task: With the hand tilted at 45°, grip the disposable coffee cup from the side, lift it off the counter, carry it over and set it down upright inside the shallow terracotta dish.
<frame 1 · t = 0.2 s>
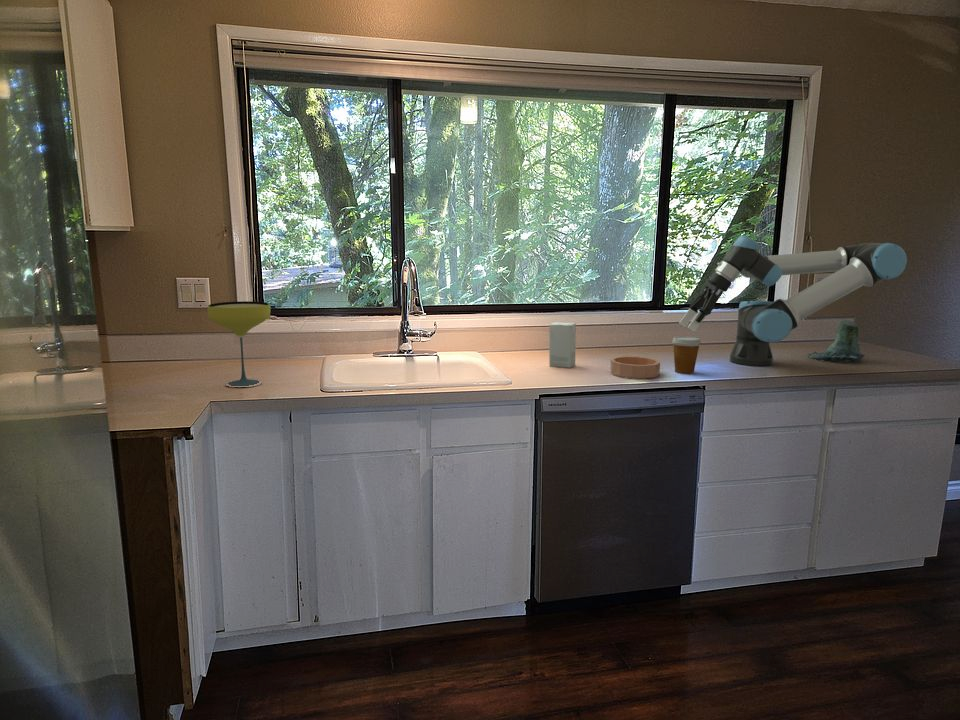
hand: (686, 327, 237), 15 cm above the countertop, tool tilted 35°, fingers open, 13 cm apart
disposable coffee cup: (684, 372, 233), on the countertop
skincare box: (561, 366, 242), on the countertop
cocktail glass: (244, 384, 209), on the countertop
terracotta dish: (634, 373, 230), on the countertop
tree stump: (836, 360, 259), on the countertop
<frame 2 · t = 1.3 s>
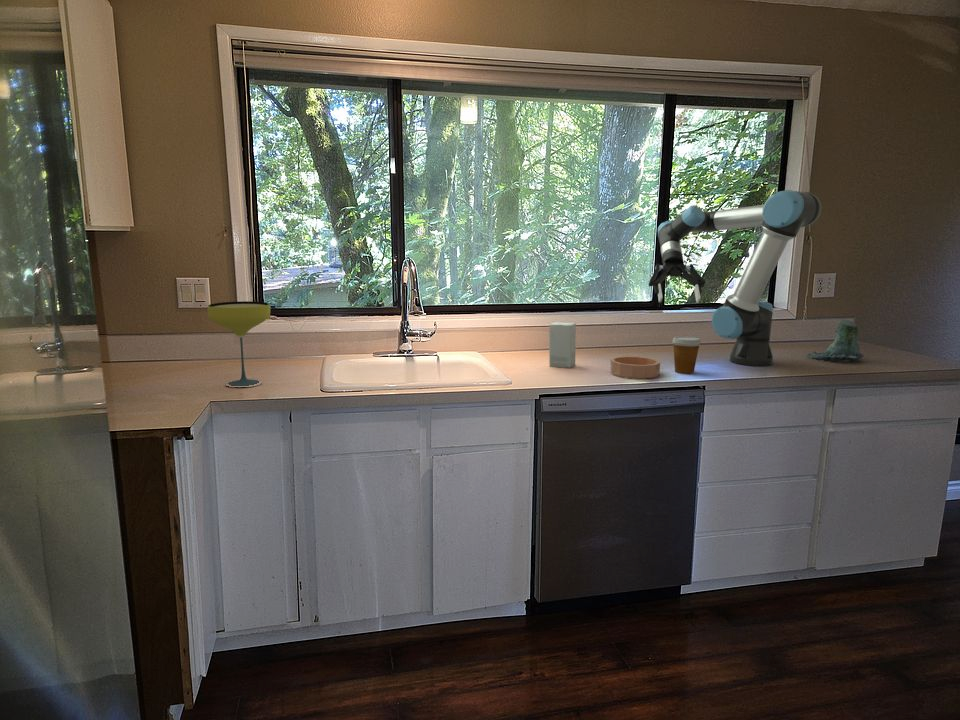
hand: (679, 300, 241), 24 cm above the countertop, tool tilted 45°, fingers open, 13 cm apart
nothing on the countertop moved.
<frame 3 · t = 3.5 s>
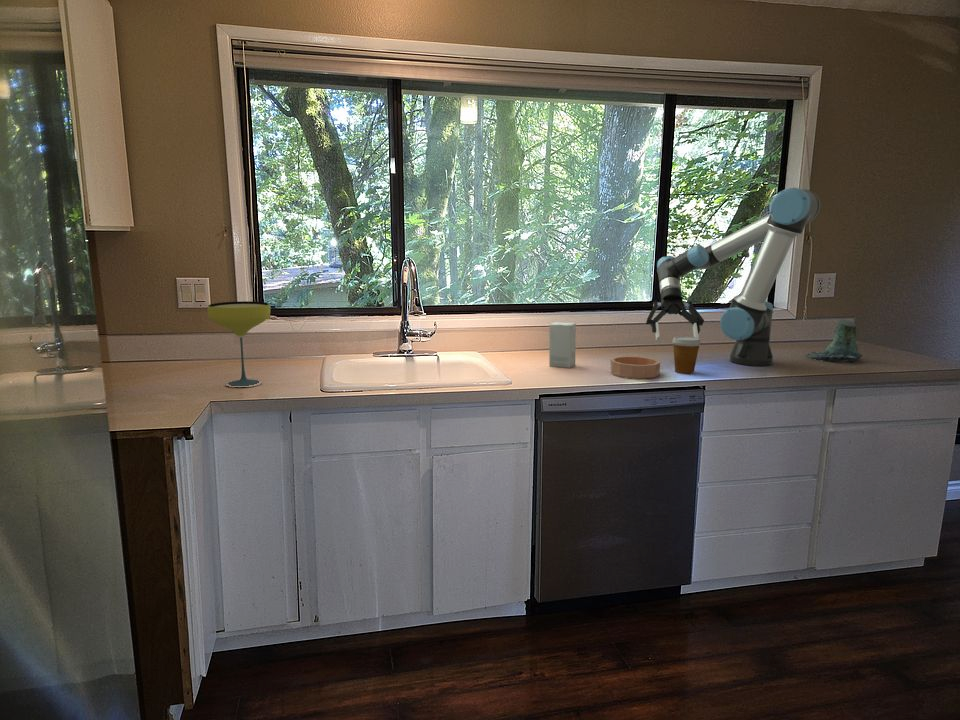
hand: (677, 339, 237), 10 cm above the countertop, tool tilted 45°, fingers open, 13 cm apart
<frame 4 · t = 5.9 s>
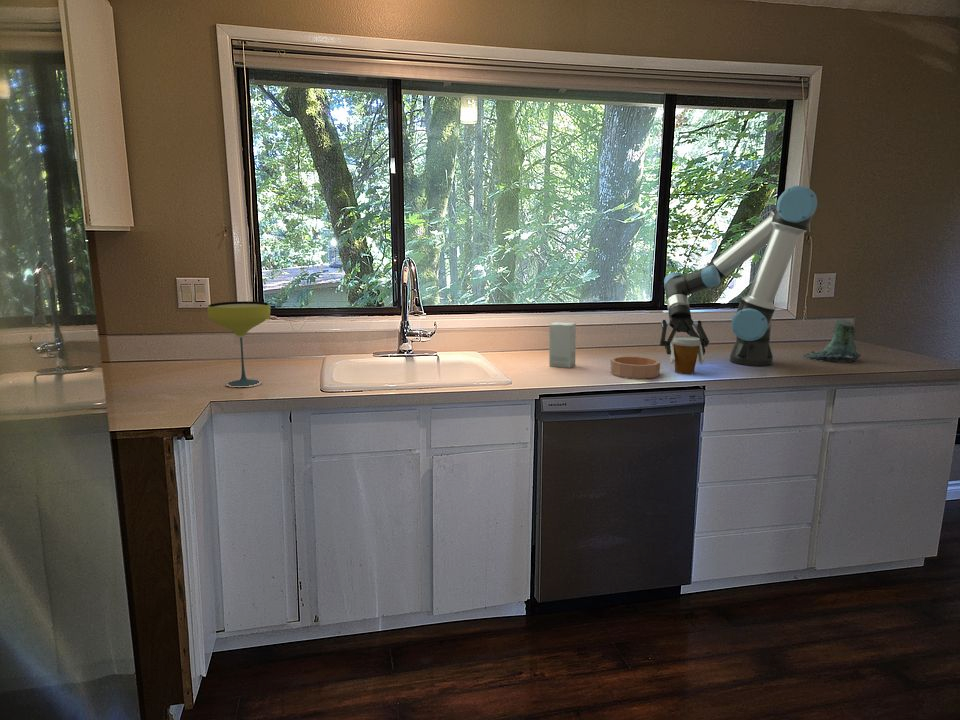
hand: (687, 361, 229), 4 cm above the countertop, tool tilted 45°, fingers closed on disposable coffee cup, 9 cm apart
disposable coffee cup: (684, 372, 233), on the countertop, touching gripper
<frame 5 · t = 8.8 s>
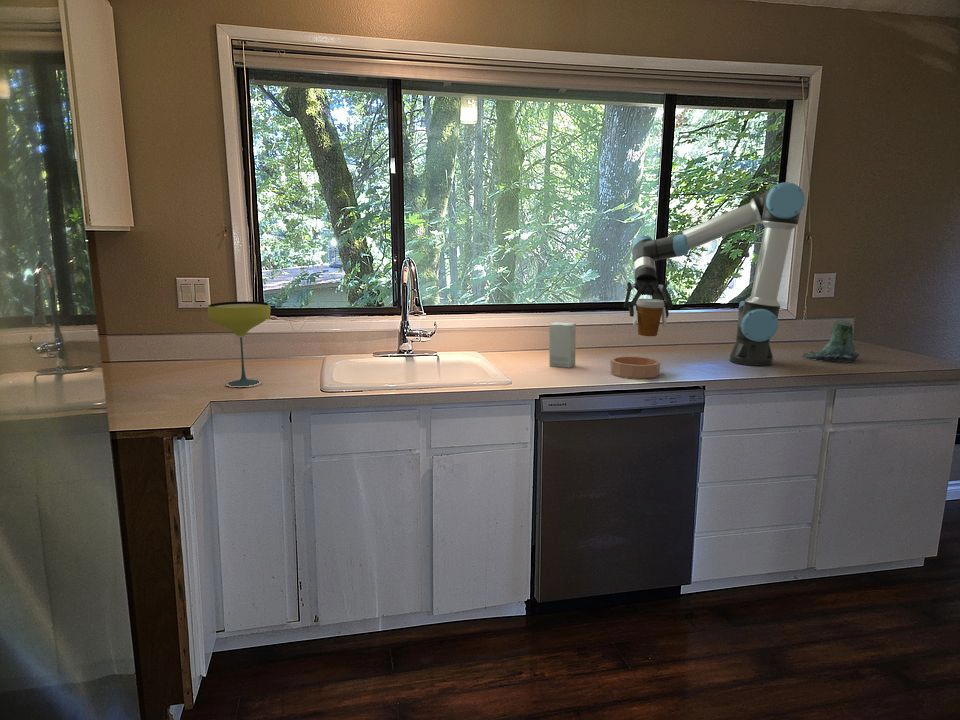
hand: (650, 323, 226), 17 cm above the countertop, tool tilted 45°, fingers closed on disposable coffee cup, 9 cm apart
disposable coffee cup: (647, 335, 230), point 13 cm above the countertop, touching gripper
when the fingers open (7 cm above the countertop, at t = 11.9 s): disposable coffee cup moves 4 cm, resting on terracotta dish.
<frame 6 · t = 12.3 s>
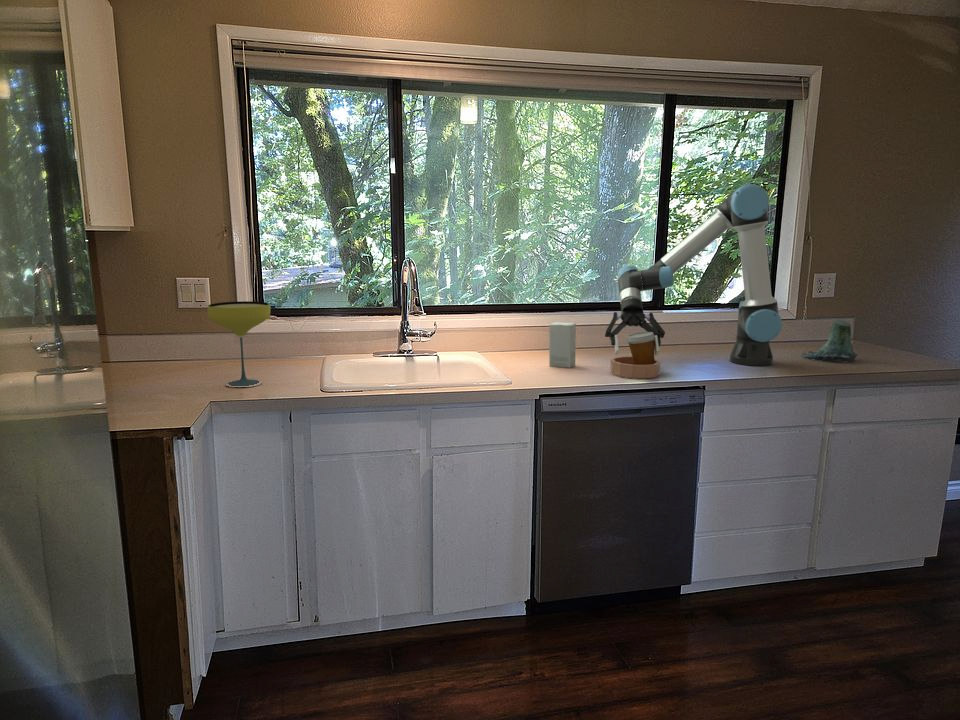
hand: (637, 353, 226), 8 cm above the countertop, tool tilted 45°, fingers open, 13 cm apart
disposable coffee cup: (645, 369, 231), point 1 cm above the countertop, touching gripper, terracotta dish
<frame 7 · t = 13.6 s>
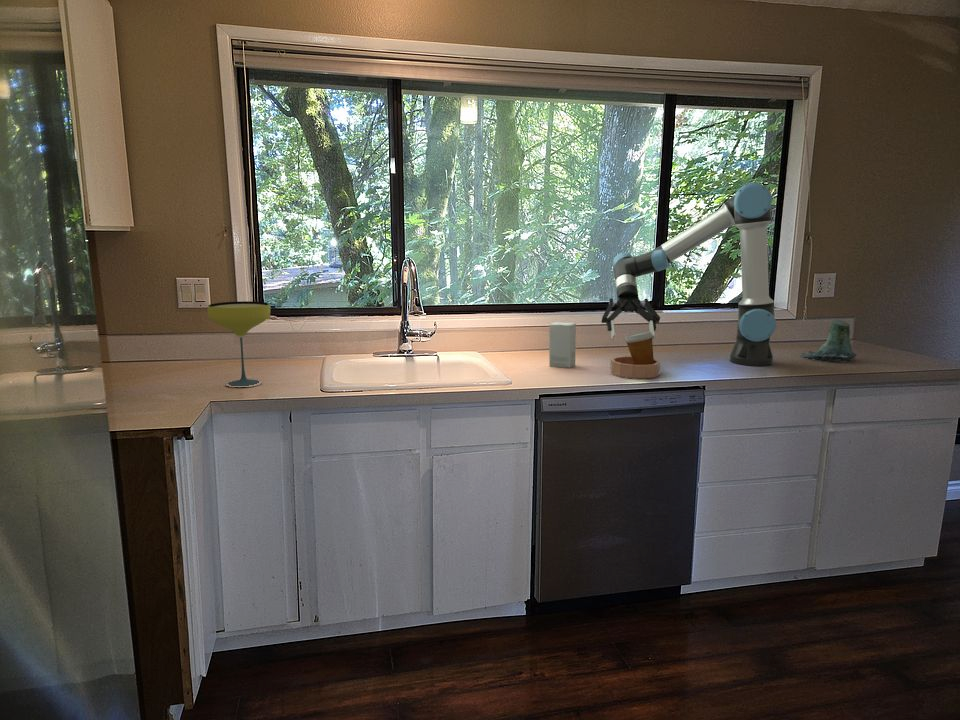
hand: (633, 337, 231), 12 cm above the countertop, tool tilted 45°, fingers open, 13 cm apart
disposable coffee cup: (645, 368, 231), point 2 cm above the countertop, touching terracotta dish
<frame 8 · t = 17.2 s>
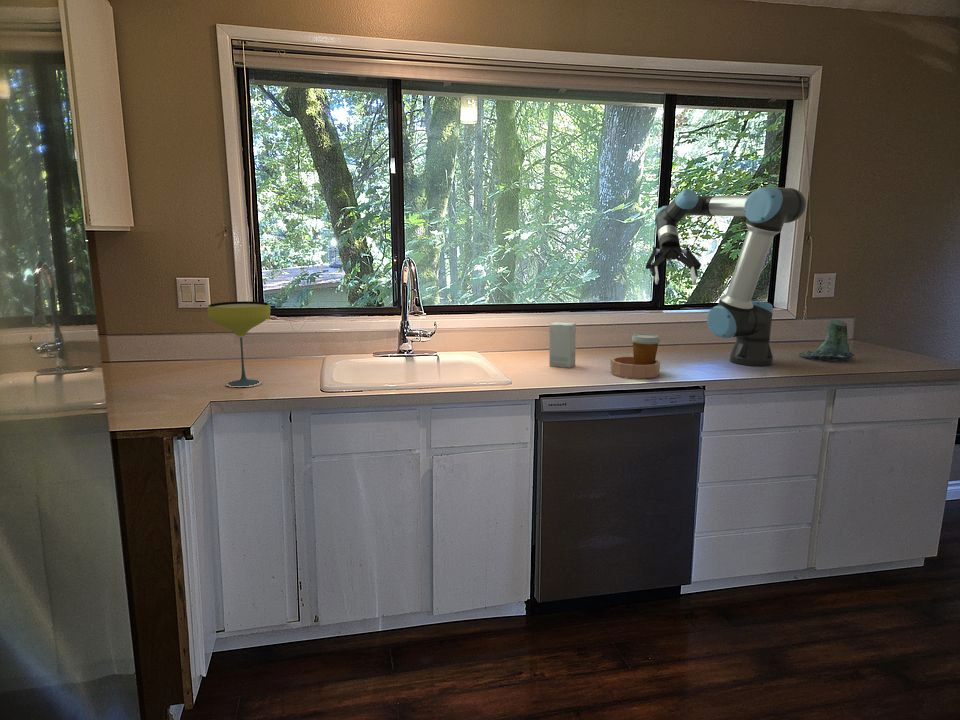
hand: (675, 282, 247), 30 cm above the countertop, tool tilted 45°, fingers open, 13 cm apart
at the end: disposable coffee cup inside the target area on the terracotta dish (3.6 cm from its centre), point 0.8 cm above the terracotta dish's base; disposable coffee cup tilted 0°; the gripper is holding nothing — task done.
